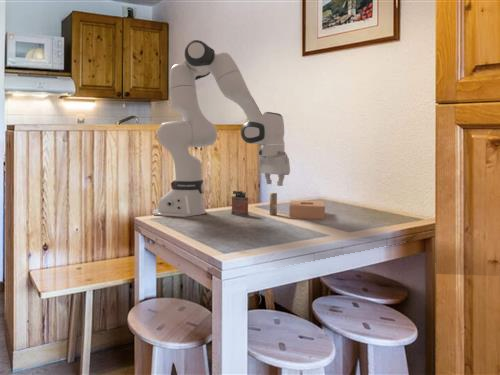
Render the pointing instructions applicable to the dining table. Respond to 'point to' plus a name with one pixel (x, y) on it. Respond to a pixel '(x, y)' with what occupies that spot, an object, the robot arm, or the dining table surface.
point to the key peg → (273, 203)
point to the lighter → (239, 203)
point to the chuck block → (307, 209)
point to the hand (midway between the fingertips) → (274, 184)
